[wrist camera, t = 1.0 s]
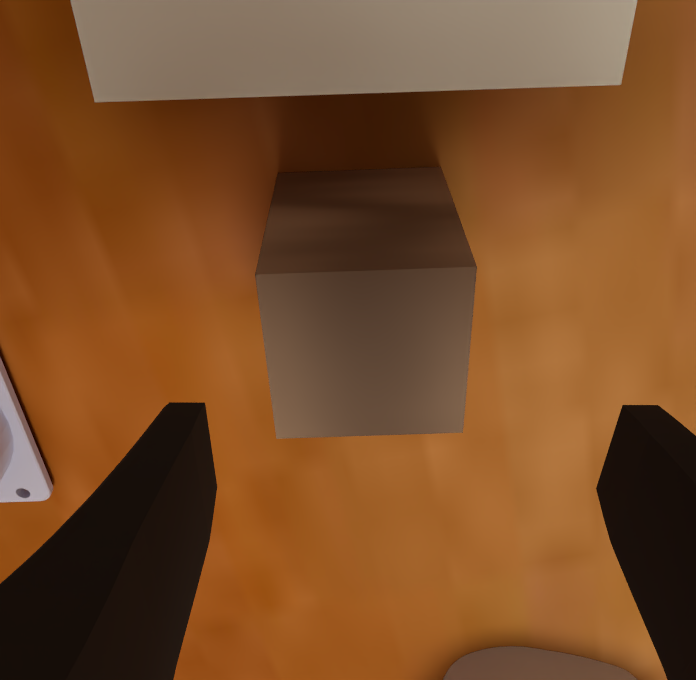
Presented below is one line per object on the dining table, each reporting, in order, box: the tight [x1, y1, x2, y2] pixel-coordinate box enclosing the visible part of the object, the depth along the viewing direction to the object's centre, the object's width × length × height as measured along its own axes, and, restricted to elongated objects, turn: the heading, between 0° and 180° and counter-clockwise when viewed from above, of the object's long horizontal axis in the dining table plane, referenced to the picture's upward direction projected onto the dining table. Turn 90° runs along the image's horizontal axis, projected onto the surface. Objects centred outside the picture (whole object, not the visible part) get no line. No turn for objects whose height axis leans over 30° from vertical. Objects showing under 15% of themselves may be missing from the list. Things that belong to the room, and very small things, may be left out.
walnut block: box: [255, 167, 477, 439], centre depth 17 cm, size 5×5×6 cm
